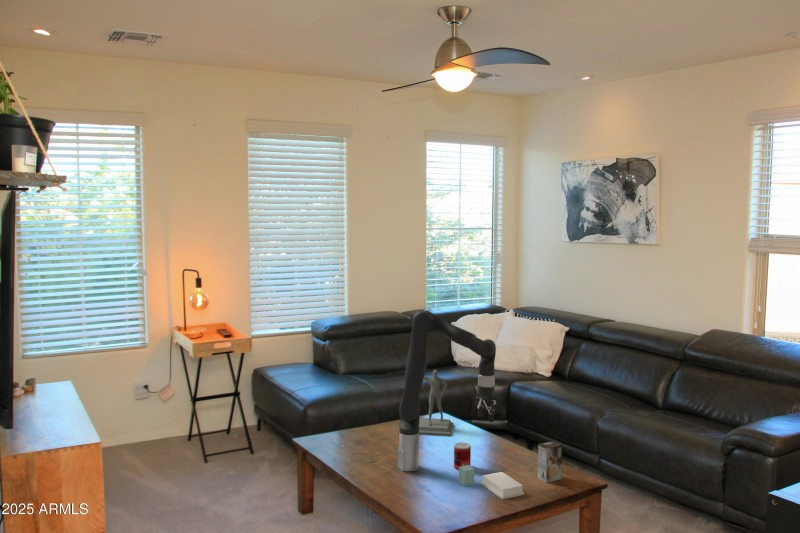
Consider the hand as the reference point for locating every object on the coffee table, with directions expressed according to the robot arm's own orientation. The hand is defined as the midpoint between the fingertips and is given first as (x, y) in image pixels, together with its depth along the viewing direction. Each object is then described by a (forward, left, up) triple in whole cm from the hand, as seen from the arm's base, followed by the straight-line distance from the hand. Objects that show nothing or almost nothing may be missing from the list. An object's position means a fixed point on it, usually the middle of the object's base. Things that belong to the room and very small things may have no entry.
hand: (485, 419), depth 300 cm
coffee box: (+26, -14, -27) cm, 40 cm away
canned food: (-4, +13, -27) cm, 30 cm away
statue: (+9, +67, -27) cm, 73 cm away
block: (-11, -3, -27) cm, 29 cm away
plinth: (0, -15, -27) cm, 31 cm away
